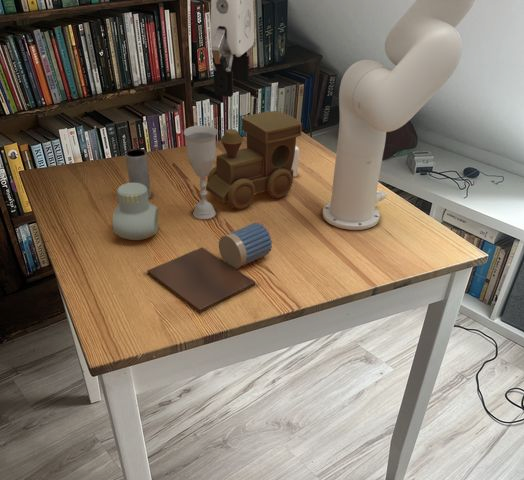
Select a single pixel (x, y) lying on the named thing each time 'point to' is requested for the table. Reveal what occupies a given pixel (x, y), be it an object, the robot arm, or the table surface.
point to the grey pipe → (138, 168)
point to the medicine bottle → (295, 162)
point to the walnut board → (201, 279)
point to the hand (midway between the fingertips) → (232, 87)
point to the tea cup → (245, 245)
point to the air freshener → (135, 213)
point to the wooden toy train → (256, 159)
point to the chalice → (202, 162)
